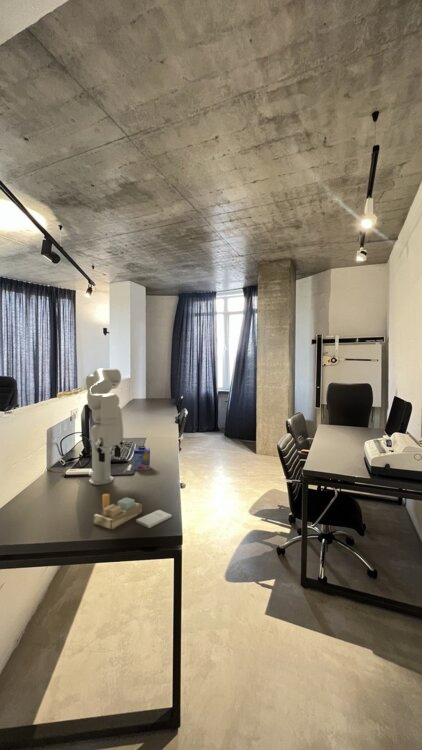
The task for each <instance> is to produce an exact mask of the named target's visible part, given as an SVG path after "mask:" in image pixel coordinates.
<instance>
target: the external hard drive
mask: <svg viewBox="0 0 422 750" xmlns="http://www.w3.org/2000/svg"><path fill="white" fill-rule="evenodd" d="M171 518H172V514H171V513H168V512H165V511H163V510H161V509H158V510H155V511H153V512H151V513H149V514H146V515H144V516H142V517H141V516H140V517H139V518H136V519H135V522H136V524H139V525H141V526H143V527H146V528H148V529H150V528H152V527H154V526H156V525H159V524H161V523H162V522H165V521H167V520H169V519H171Z"/></svg>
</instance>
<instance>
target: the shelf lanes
mask: <svg viewBox="0 0 422 750" xmlns="http://www.w3.org/2000/svg"><path fill="white" fill-rule="evenodd" d="M142 512H143V504H142V503H138V502H135V507H133V508H131V509H129V510H127V511H125V510H121V514H120V515H118V516H117V517H115V518H113V519H112V518H108V517H105V516H103V515H102V514H101V515H100V514H98V513H95V514H94V515H93V524H95V525H98V526H101V527H103V528H106V529H110V530H114V529H116V528H117V527H119V526H121V525H122V524H125V523H126V522H128V521H129V520H131V519H133V518H135V517H136V516H138V515H140V514H141V513H142Z"/></svg>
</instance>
